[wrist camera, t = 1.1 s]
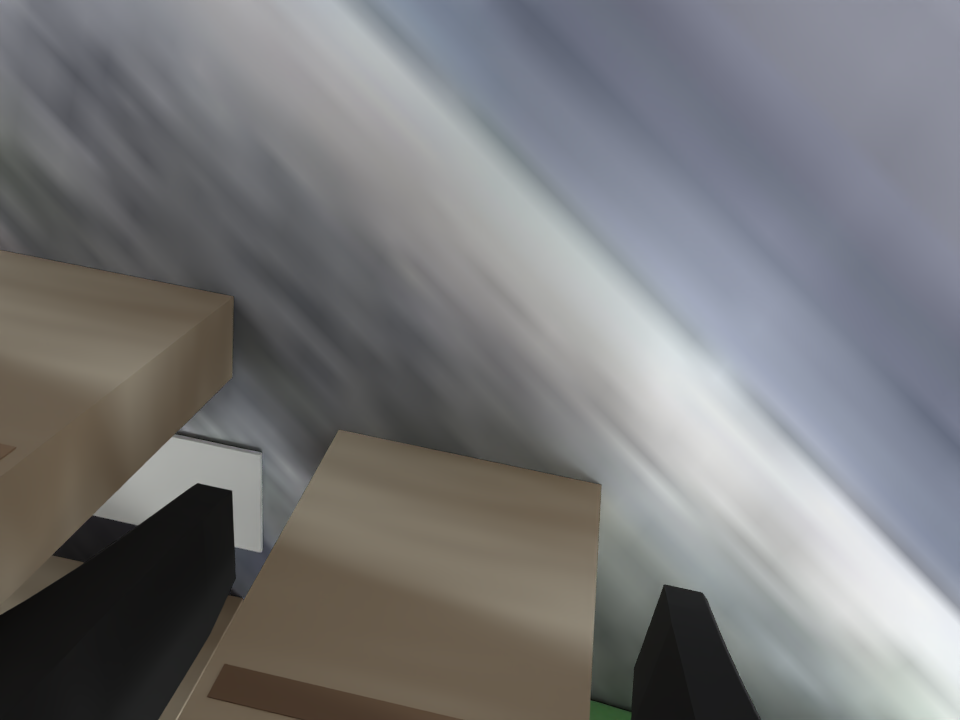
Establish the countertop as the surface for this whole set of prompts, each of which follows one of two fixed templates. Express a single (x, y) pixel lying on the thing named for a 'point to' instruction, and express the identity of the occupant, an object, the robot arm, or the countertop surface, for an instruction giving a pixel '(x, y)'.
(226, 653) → the tile
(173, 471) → the plate
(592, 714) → the ink box
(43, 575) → the tile
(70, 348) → the tile
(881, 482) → the countertop surface
